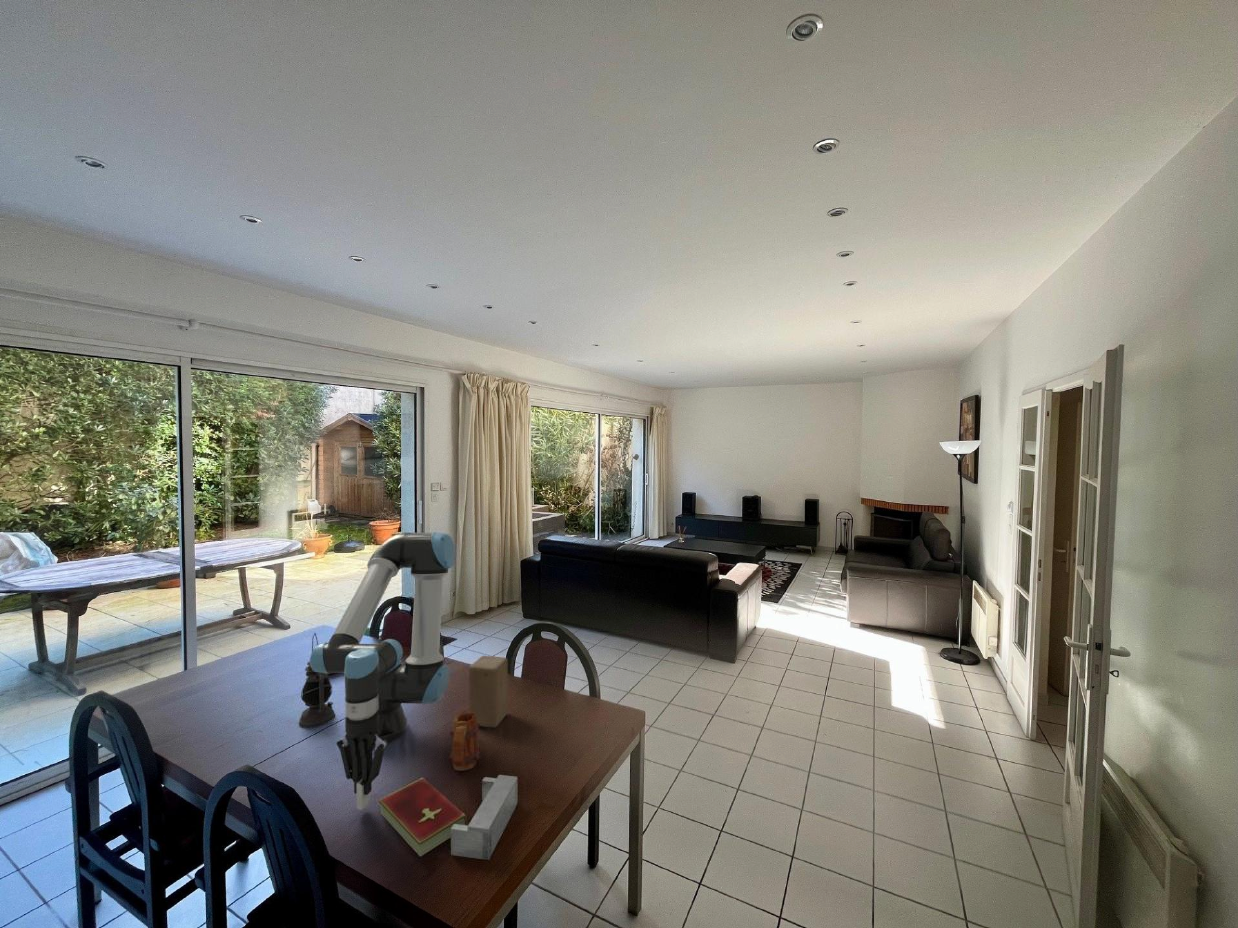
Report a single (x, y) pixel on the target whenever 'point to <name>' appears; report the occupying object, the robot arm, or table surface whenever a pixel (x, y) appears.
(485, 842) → the end cap
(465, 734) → the mug
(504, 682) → the wooden block
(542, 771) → the table surface
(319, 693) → the lantern
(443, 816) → the hardcover book
